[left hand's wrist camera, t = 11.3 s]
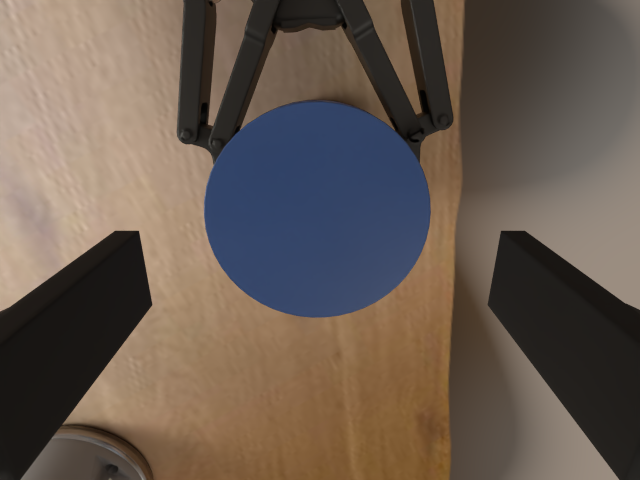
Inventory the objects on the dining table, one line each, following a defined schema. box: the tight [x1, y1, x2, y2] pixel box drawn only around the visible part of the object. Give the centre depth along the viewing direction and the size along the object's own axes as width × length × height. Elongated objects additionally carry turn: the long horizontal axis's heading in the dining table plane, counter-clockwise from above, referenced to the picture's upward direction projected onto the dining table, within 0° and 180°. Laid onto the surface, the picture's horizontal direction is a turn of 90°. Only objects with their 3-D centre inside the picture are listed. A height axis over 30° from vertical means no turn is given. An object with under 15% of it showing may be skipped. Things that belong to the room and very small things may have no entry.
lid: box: [204, 100, 431, 317], centre depth 19 cm, size 10×10×2 cm
